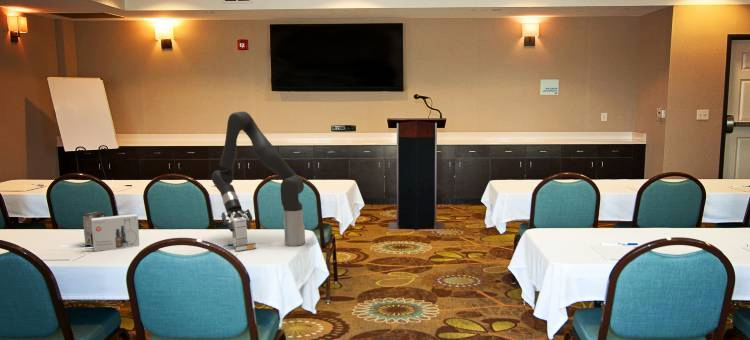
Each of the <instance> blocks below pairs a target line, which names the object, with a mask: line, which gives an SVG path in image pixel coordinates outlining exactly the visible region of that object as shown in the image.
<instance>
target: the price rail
mask: <svg viewBox="0 0 750 340" xmlns="http://www.w3.org/2000/svg"><path fill="white" fill-rule="evenodd" d="M255 249H257V243H256V242H252V243H248V244H244V245H238V246H235V248H234V252H235V251H236V252H237V251H238V252H242V251H249V250H250V251H251V250H255ZM238 252H237V253H238Z"/></svg>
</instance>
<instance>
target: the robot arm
mask: <svg viewBox="0 0 750 340" xmlns="http://www.w3.org/2000/svg"><path fill="white" fill-rule="evenodd" d="M226 125H227V126H226V133H225V141H224V147H223V150H222V154H221V156H220V160H219V166H220V167H222V168H223V169H225V170H218V169H217V170H214V171H213V173H212V174H211V181H212V183H213V185H214V186H215V187H216V189H217V191H218V192H219V193H220V196H221V198H222V203H223V206H224V209H225V211H226V213H225V212H222V214H221V220H222V224H223V226H228V229H229V231H230V232H231V233H232V232H233V230H234V229H233V226H232V219H233V218H238V217H243V218H245V219H246V226H247V230H250V229H251V227H252V220H253V216H252V213H251V212H250V210H249V209H246V210H243V209H242V207H243V206H242V205H241V202H240V200H239V198H238V195H237V193H236V191H235V187H234V185H233V184H232V182H233V180H234V165H235V163H236V158H237V157H238V156H237V155H238V147H237V142H238V137H239V134H240V132H241V131H243V132H244V133H245V134H246V136H247V137H248V138H249V140H250V141H251V144H252V148H253V152H254V154H255V155H256V157H257V159H259V161H260V162H261V163H262V165H264V166H265V167H266V168H268V169H269V170H271V171H272V172H274V173H275V174H276V175H277V176H278V177H279V178H280V179H281V180H282V181H281V184H280V198H281V205H282V208H283V225H284V226H283V228H284V244H285V246H289V247H296V246H302V245H303V244H305V243H306V231H305V229H306V228H305V223H304V219H303V217H304V216H303V215H304V214H303V204H302V202H300V197H299V195H300V194H301V193H302V192H303V191H304V188H305V185H304V181H303V180H302V178H301V177H300V176H299V175H298V174H297V173H296V172H295V171H294V170H293V169H292V168H291V167H290V166H289V165H288V163H287V162H286V161H285V159H284V158H283V157H282V156H281V155H280V153H279V152H278V150H277V149H276V148H275V147H274V146H273V144H272V143H271V142H270V141H269V139H267V137H266V136H265V134H264V133H263V132H262V131H261V129H260V128H259V127H258V125H257V123H256V122H255V119H253V118H252V116H251V114H250V113H248V112H246V111H236V112H232V113H231V114H229V117H228V118H227V124H226ZM227 218H229V220H227Z"/></svg>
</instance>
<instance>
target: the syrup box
mask: <svg viewBox="0 0 750 340" xmlns="http://www.w3.org/2000/svg"><path fill="white" fill-rule="evenodd" d="M231 223H232V226H233V229H234V230H233V232H231V237H232V247H233V248H234V249H235V246H238V245H244V244H249V243H248V242H249V241H248V227H247V225H246V219H245V218H243V217H238V218H233V219H232V222H231Z"/></svg>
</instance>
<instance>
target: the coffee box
mask: <svg viewBox="0 0 750 340" xmlns="http://www.w3.org/2000/svg"><path fill="white" fill-rule="evenodd" d="M101 217H106V212H104V211H93V212H88V213H84V214H82V223H83V225H82V226H83V234H84V245H85V246H87V245H91V246H92V247H93V236H92V220H91V218H101ZM91 246H90V247H91Z"/></svg>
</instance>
